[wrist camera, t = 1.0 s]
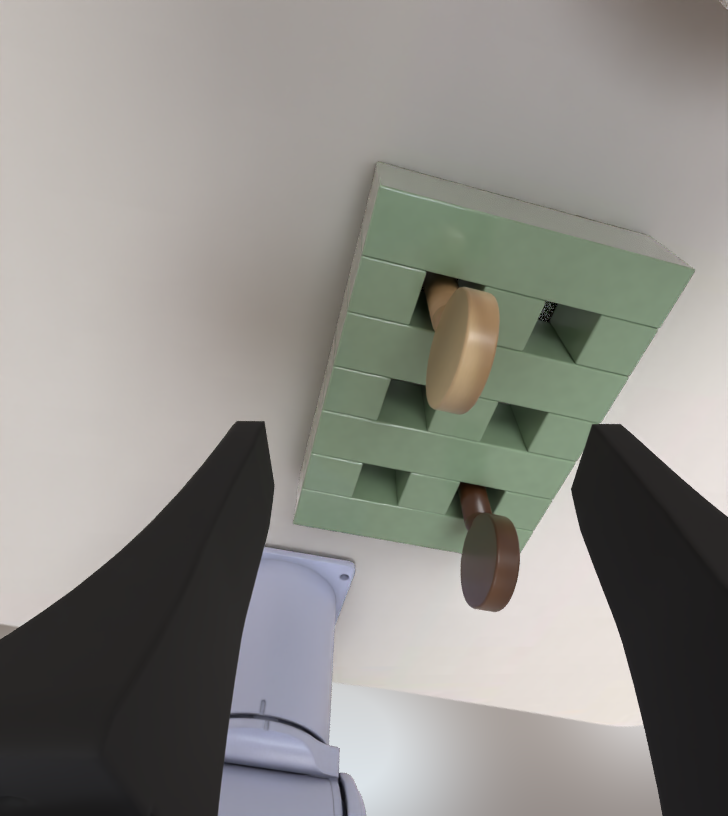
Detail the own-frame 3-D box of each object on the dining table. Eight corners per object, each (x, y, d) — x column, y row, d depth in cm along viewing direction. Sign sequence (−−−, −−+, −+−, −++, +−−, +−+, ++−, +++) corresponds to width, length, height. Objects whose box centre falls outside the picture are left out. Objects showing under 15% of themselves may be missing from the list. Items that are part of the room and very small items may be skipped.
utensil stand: (499, 509, 29) (514, 563, 26) (300, 472, 27) (292, 524, 24) (650, 235, 21) (697, 269, 18) (377, 161, 19) (379, 184, 16)
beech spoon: (466, 227, 20) (517, 330, 14) (435, 313, 22) (466, 441, 16) (435, 219, 20) (472, 319, 13) (407, 306, 22) (426, 433, 15)
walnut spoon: (488, 425, 26) (534, 572, 19) (462, 481, 28) (494, 632, 21) (464, 420, 26) (501, 566, 19) (439, 476, 28) (464, 627, 21)
